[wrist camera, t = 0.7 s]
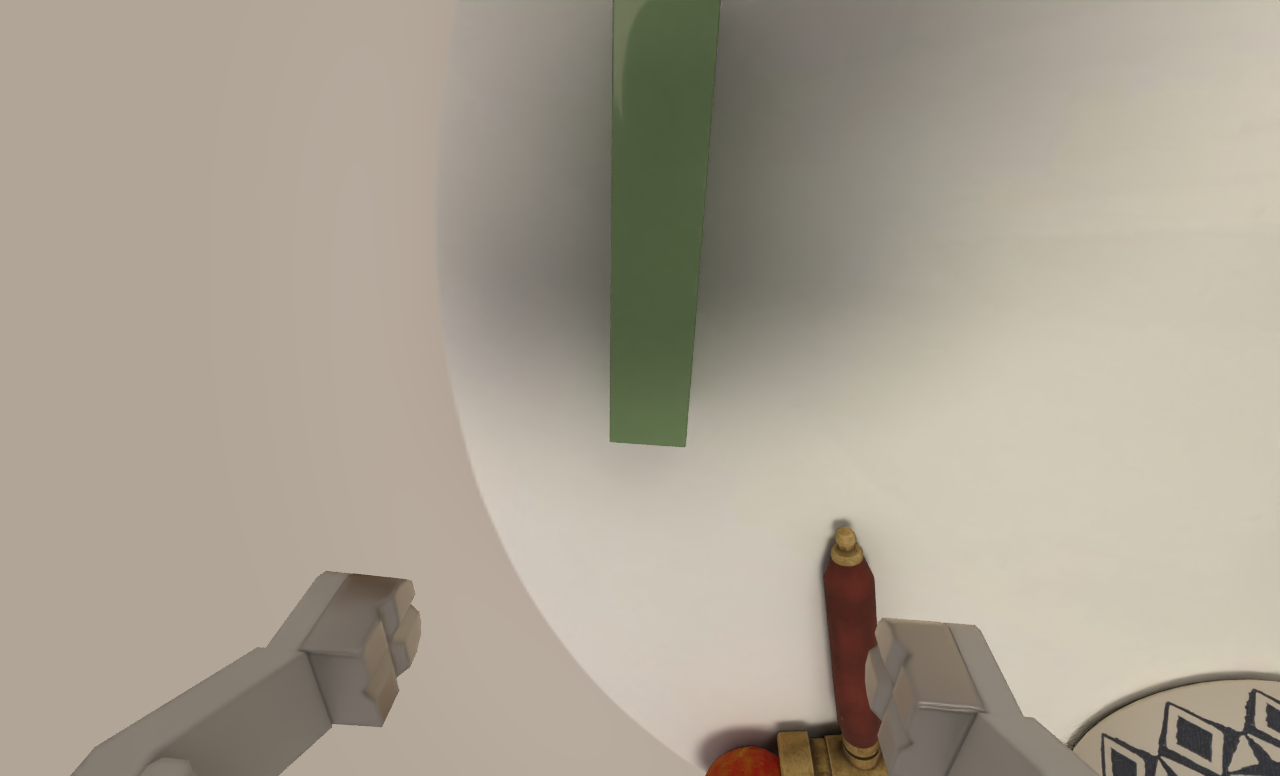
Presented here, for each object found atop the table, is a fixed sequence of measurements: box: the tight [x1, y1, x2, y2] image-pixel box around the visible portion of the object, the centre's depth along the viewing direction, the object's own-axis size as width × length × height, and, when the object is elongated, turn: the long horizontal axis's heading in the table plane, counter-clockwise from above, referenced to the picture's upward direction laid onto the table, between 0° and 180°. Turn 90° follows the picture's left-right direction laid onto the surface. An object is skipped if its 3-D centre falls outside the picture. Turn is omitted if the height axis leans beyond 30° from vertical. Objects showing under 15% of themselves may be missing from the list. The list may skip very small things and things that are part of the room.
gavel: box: [777, 527, 888, 776], centre depth 35 cm, size 21×5×10 cm
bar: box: [610, 0, 721, 447], centre depth 24 cm, size 16×3×4 cm, turn 178°
